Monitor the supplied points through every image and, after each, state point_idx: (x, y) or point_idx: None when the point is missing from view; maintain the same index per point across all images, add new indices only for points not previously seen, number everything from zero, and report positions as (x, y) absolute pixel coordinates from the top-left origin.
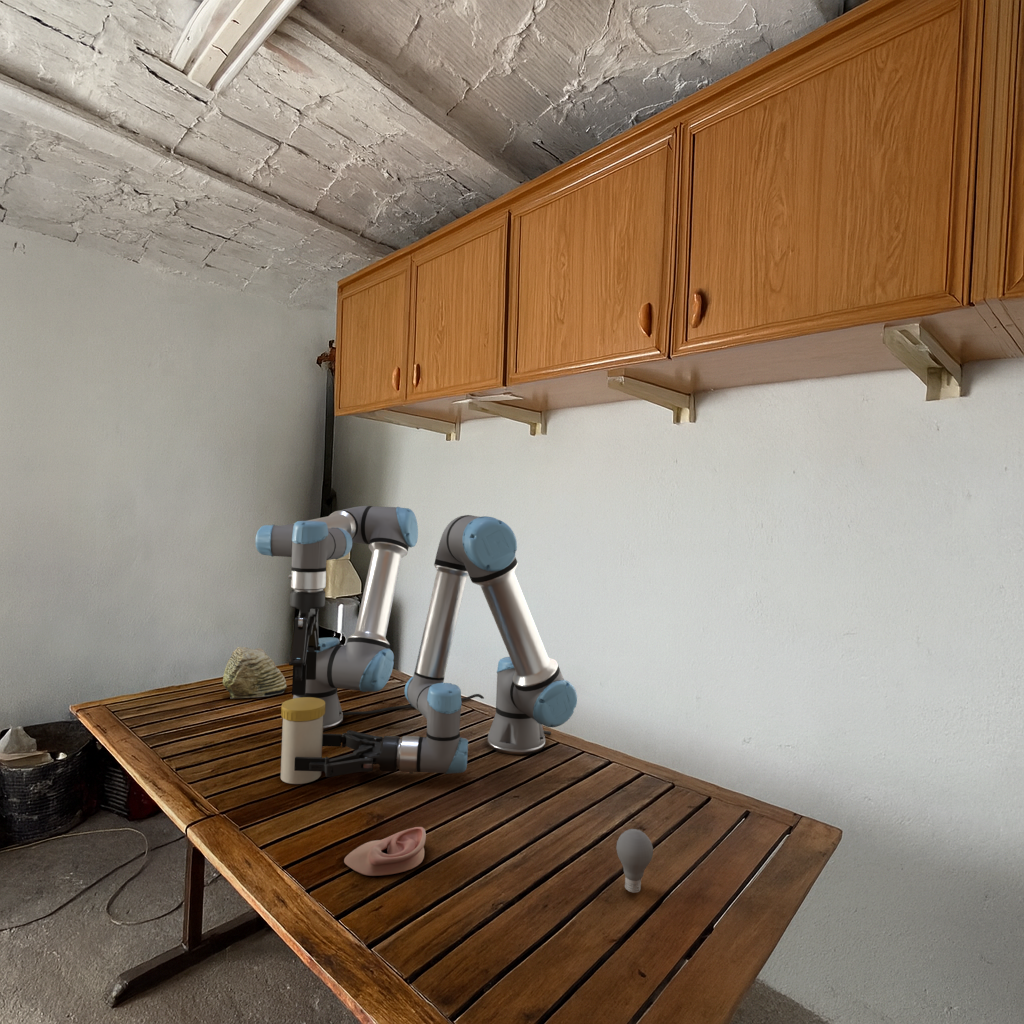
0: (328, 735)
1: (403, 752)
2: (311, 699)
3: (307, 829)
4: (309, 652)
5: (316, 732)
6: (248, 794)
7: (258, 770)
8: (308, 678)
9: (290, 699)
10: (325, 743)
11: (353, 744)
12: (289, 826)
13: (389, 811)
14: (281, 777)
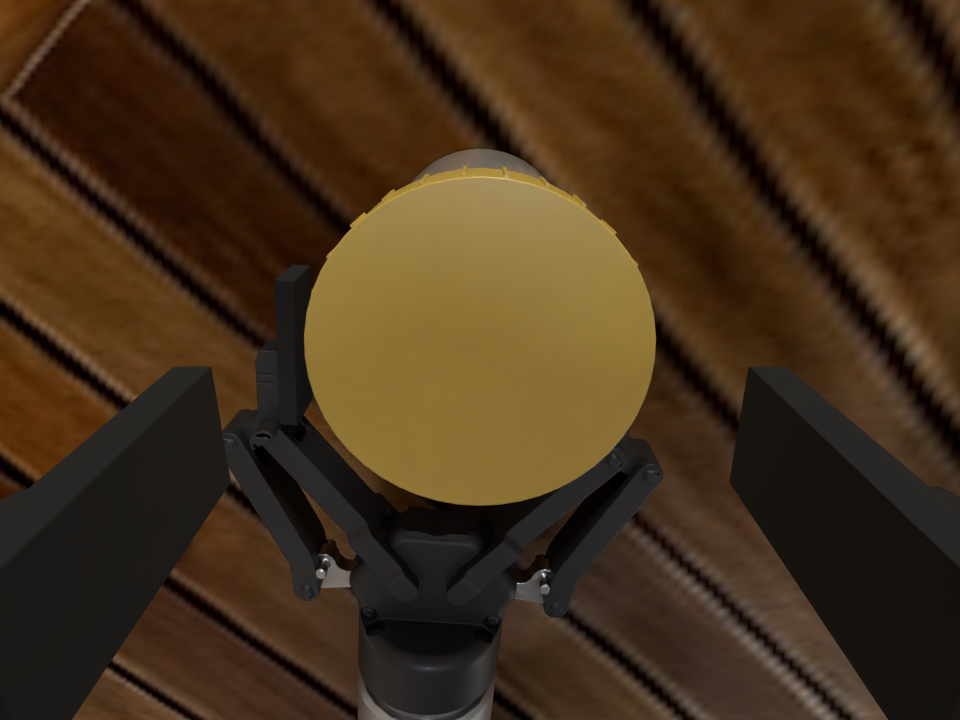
0: None
1: (360, 703)
2: (590, 396)
3: (47, 353)
4: (954, 677)
5: None
6: (284, 45)
7: (544, 15)
8: (743, 425)
9: (595, 223)
10: None
11: None
12: (53, 288)
13: (211, 573)
14: (432, 163)
